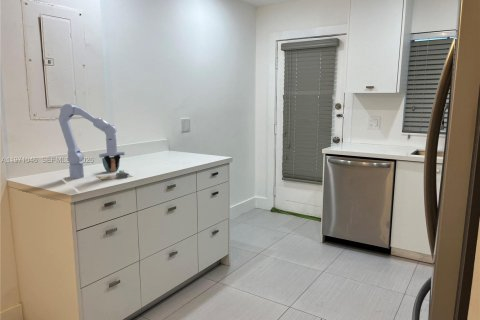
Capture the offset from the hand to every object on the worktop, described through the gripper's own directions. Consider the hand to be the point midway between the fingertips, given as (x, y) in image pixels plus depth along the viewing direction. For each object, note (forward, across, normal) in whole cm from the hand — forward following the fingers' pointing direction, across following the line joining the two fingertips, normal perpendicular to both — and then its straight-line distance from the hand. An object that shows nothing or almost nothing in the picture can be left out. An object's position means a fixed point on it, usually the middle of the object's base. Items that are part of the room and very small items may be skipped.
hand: (112, 168), depth 218 cm
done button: (+3, -3, +6) cm, 8 cm away
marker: (+2, 0, 0) cm, 2 cm away
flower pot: (+6, -5, -18) cm, 20 cm away
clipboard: (+6, 0, +2) cm, 6 cm away
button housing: (+5, -3, +6) cm, 9 cm away
